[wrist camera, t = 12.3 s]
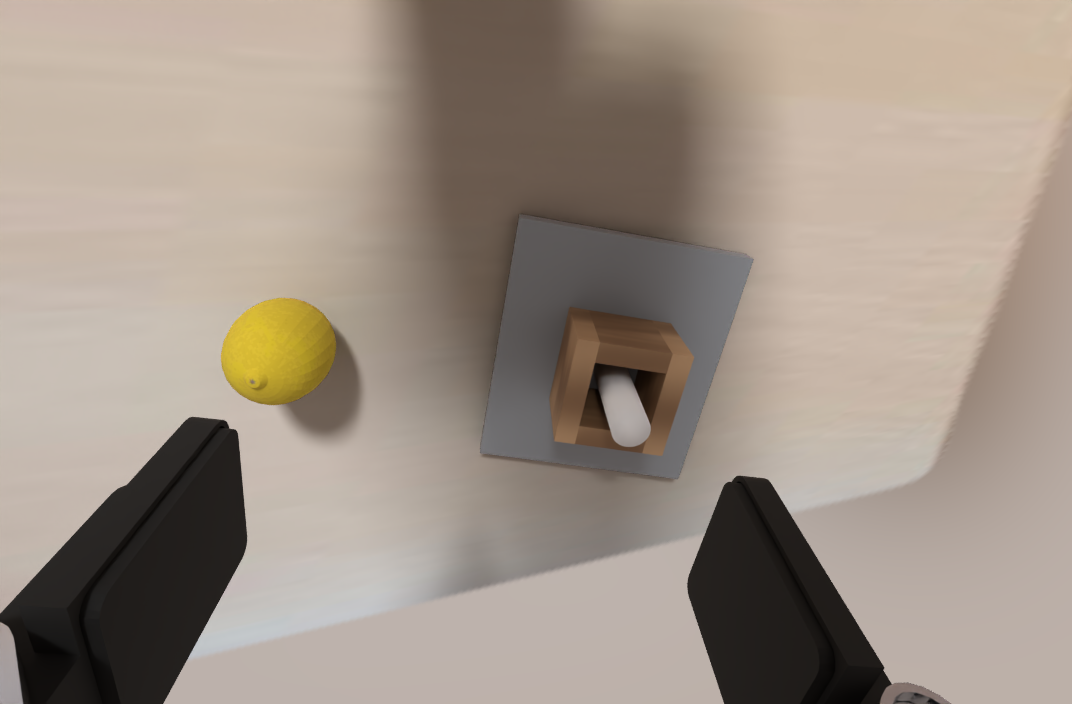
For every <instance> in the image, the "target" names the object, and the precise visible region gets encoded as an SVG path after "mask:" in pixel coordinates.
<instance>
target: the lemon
mask: <svg viewBox="0 0 1072 704" xmlns="http://www.w3.org/2000/svg"><path fill="white" fill-rule="evenodd" d="M335 351H336V340H335V334H334V331H333V329H332V326H331V324H330V322H329V321H328V319H327V318H326V317H325V316H324V314H323V313H322V312H320V311H319V310H318V309H317V308H316V307H314V306H312V305H310V304H308V303H306V302H304V301H300V300H297V299H292V298H277V299H272V300H267V301H264V302H262V303H260V304H257V305H255V306H253V307H252V308H250V309H248V310H247V311H246V312H245V313H243V314H242V315H241V316H240V317H239V318H238V319H237V320H236V321H235V322H234V324H233V325H232V327H231V328H230V330H229V332H228V334H227V336H226V338H225V340H224V343H223V347H222V353H221V362H222V369H223V372H224V374H225V377H226V379H227V381H228V382H229V383H230V385H231V386H232V388H234V389H235V390H236V391H237V392H238V393H239V394H240V395H242V396H243V397H245V398H247V399H249V400H251V401H254V402H257V403H260V404H267V405H279V404H286V403H289V402H292V401H295V400H298V399H300V398H301V397H303V396H305V395H306V394H308V393H309V392H311V391H312V390H314V389H315V388H316V387H317V386H318V385H319V384H320V383H321V382H322V380H323V379H324V378H325V377H326V376H327V374H328V373H329V370H330V368H331V366H332V364H333V361H334V358H335Z"/></svg>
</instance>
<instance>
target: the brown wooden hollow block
mask: <svg viewBox="0 0 1072 704" xmlns="http://www.w3.org/2000/svg"><path fill="white" fill-rule="evenodd" d="M693 360H694V356H693V355H692V353H691V352H690V350H689V349H688V347H687V346H686V345H685V343H684V342H683V340H682V339H681V337H680V336H679V334H678V333H677V331H676V330H675V329H674V327H673V326H672V324H671V323H666V322H660V321H653V320H647V319H641V318H635V317H629V316H623V315H617V314H611V313H605V312H598V311H592V310H586V309H580V308H574V307H569V311H568V316H567V320H566V325H565V329H564V334H563V338H562V343H561V347H560V352H559V356H558V361H557V366H556V370H555V375H554V379H553V384H552V388H551V393H550V397H549V401H550V410H551V418H552V427H553V436H554V441H556V442H564V443H571V444H578V445H586V446H593V447H600V448H607V449H615V450H622V451H629V452H636V453H644V454H651V455H658V456H662V455H663V452H664V449H665V446H666V443H667V439H668V436H669V433H670V430H671V427H672V424H673V421H674V418H675V415H676V412H677V409H678V406H679V403H680V400H681V396H682V393H683V390H684V387H685V384H686V381H687V378H688V375H689V372H690V369H691V366H692V363H693ZM595 363H600V364H606V365H613V366H619V367H626V368H632V369H638V372H637V375H636V379H635V382H634V386H635V389H636V391H637V394H638V396H639V398H640V401H641V403H642V406H643V408H644V411H645V413H646V415H647V418H648V420H649V423H650V426H651V431H650V435H649V437H648V438H647V439H646V440H645V441H644V442H643V443H642V444H640V445H638V446H634V447H625V446H621V445H619V444H618V443H616V442H615V441H614V439H613V437H612V434H611V431H610V427H609V424H608V420H607V417H606V413H605V410H604V406H603V403H602V399H601V396H600V392H599V389H594V388H589V385H590V381H591V377H592V373H593V369H594V365H595Z"/></svg>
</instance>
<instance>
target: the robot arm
mask: <svg viewBox="0 0 1072 704" xmlns="http://www.w3.org/2000/svg"><path fill="white" fill-rule="evenodd" d="M246 545H247V530H246V519H245V507H244V496H243V485H242V473H241V462H240V451H239V439H238V433H237V431H236V430H234V429H229V426H228V424H227V422H226V421H224V420H218V419H208V418H199V417H190V418H188V419H187V420H186V421H185V422H184V423H183V424H182V425H181V426H180V427H179V428H178V429H177V431H176V432H175V433H174V434H173V435H172V436H171V437H170V438H169V439H168V440H167V442H166V443H165V444H164V445H163V446H162V447H161V448H160V449H159V450H158V451H157V453H156V454H155V455H154V456H153V457H152V458H151V459H150V460H149V461H148V462H147V463H146V465H145V466H144V467H143V468H142V469H141V470H140V471H139V472H138V473H137V474H136V476H135V477H134V478H133V479H132V480H131V481H130V482H129V483H128V484H127V485H126V486H123V487H120V488H118V489H117V490H116V491H115V492H113V493H112V494H111V495H110V496H109V497H108V498H107V499H106V500H105V502H104V503H103V504H102V505H101V506H100V507H99V508H98V509H97V510H96V511H95V512H94V513H93V514H92V516H91V517H90V518H89V519H88V520H87V521H86V522H85V523H84V524H83V525H82V526H81V527H80V528H79V530H78V531H77V532H76V533H75V534H74V535H73V536H72V537H71V538H70V539H69V540H68V541H67V542H66V544H65V545H64V546H63V547H62V548H61V549H60V550H59V551H58V552H57V553H56V554H55V555H54V556H53V558H52V559H51V560H50V561H49V562H48V563H47V564H46V565H45V566H44V567H43V568H42V569H41V570H40V572H39V573H38V574H37V575H36V576H35V577H34V578H33V579H32V580H31V581H30V582H29V583H28V584H27V586H26V587H25V588H24V589H23V590H22V591H21V592H20V593H19V594H18V595H17V596H16V597H15V598H14V600H13V601H12V602H11V603H10V604H9V605H8V606H7V607H6V608H5V609H4V610H3V611H2V612H1V614H0V704H163V703H164V701H165V699H166V698H167V696H168V694H169V692H170V690H171V688H172V686H173V685H174V683H175V681H176V679H177V677H178V675H179V674H180V672H181V670H182V668H183V666H184V664H185V663H186V661H187V659H188V657H189V655H190V653H191V652H192V650H193V648H194V646H195V644H196V642H197V641H198V639H199V637H200V635H201V633H202V631H203V630H204V628H205V626H206V624H207V622H208V620H209V619H210V617H211V615H212V613H213V611H214V609H215V607H216V606H217V604H218V602H219V600H220V598H221V596H222V595H223V593H224V591H225V589H226V587H227V585H228V584H229V582H230V580H231V578H232V576H233V574H234V573H235V571H236V569H237V567H238V565H239V563H240V562H241V560H242V558H243V555H244V553H245V549H246ZM687 584H688V586H687V587H688V594H689V598H690V601H691V604H692V607H693V610H694V613H695V616H696V619H697V622H698V626H699V629H700V631H701V635H702V638H703V641H704V644H705V647H706V650H707V653H708V656H709V659H710V662H711V665H712V668H713V671H714V674H715V677H716V680H717V683H718V686H719V689H720V692H721V695H722V698H723V701H724V704H951V703H949V702H948V701H947V700H945V699H944V698H943V697H941V696H940V695H938V694H936V693H934V692H932V691H930V690H928V689H926V688H924V687H922V686H918V685H915V684H911V683H894V684H891V682H890V681H889V679H888V677H887V676H886V674H885V672H884V671H883V669H884V666H883V665H882V663H881V661H880V660H879V658H878V657H877V655H876V653H875V652H874V650H873V649H872V647H871V645H870V644H869V642H868V641H867V639H866V637H865V635H864V634H863V632H862V631H861V629H860V627H859V626H858V624H857V622H856V621H855V619H854V617H853V616H852V614H851V613H850V611H849V609H848V608H847V606H846V605H845V603H844V601H843V600H842V598H841V596H840V595H839V593H838V591H837V590H836V588H835V587H834V585H833V583H832V582H831V580H830V578H829V577H828V575H827V574H826V572H825V570H824V569H823V567H822V566H821V564H820V562H819V561H818V559H817V557H816V556H815V554H814V552H813V551H812V549H811V547H810V546H809V544H808V543H807V541H806V539H805V538H804V536H803V535H802V533H801V531H800V530H799V528H798V526H797V525H796V523H795V522H794V520H793V518H792V517H791V515H790V513H789V512H788V510H787V508H786V507H785V505H784V504H783V502H782V500H781V499H780V497H779V495H778V494H777V492H776V491H775V489H774V487H773V486H772V484H771V483H770V482H769V480H767V479H765V478H756V477H747V476H736V477H735V478H734V479H733V481H732V482H727V483H726V484H725V485H724V487H723V489H722V492H721V495H720V497H719V500H718V502H717V505H716V507H715V510H714V512H713V515H712V518H711V520H710V523H709V525H708V528H707V530H706V533H705V536H704V538H703V541H702V543H701V546H700V549H699V551H698V553H697V556H696V559H695V561H694V564H693V566H692V569H691V571H690V574H689V577H688V583H687Z"/></svg>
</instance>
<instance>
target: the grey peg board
mask: <svg viewBox="0 0 1072 704" xmlns="http://www.w3.org/2000/svg"><path fill="white" fill-rule="evenodd" d="M753 260H754V259H753V258H751V257H750V256H748V255H747V254H743V253H737V252H732V251H726V250H721V249H715V248H709V247H704V246H698V245H692V244H687V243H681V242H676V241H670V240H664V239H659V238H653V237H647V236H642V235H636V234H631V233H625V232H619V231H614V230H608V229H603V228H597V227H591V226H586V225H580V224H574V223H569V222H563V221H558V220H552V219H546V218H541V217H535V216H529V215H524V214H519V220H518V225H517V231H516V237H515V243H514V249H513V255H512V261H511V267H510V273H509V279H508V285H507V291H506V297H505V302H504V308H503V314H502V320H501V326H500V332H499V338H498V344H497V350H496V356H495V362H494V368H493V373H492V379H491V385H490V391H489V397H488V403H487V409H486V415H485V421H484V427H483V433H482V439H481V446H480V453H483V454H491V455H498V456H506V457H514V458H521V459H529V460H536V461H544V462H551V463H559V464H566V465H574V466H582V467H589V468H597V469H604V470H612V471H619V472H627V473H634V474H642V475H650V476H657V477H665V478H672V479H678V478H679V475H680V472H681V469H682V467H683V464H684V461H685V458H686V455H687V452H688V449H689V446H690V443H691V440H692V437H693V435H694V432H695V429H696V426H697V423H698V420H699V417H700V414H701V411H702V408H703V405H704V403H705V400H706V397H707V394H708V391H709V388H710V385H711V382H712V379H713V376H714V373H715V371H716V368H717V365H718V362H719V359H720V356H721V353H722V350H723V347H724V344H725V341H726V339H727V336H728V333H729V330H730V327H731V324H732V321H733V318H734V315H735V312H736V309H737V307H738V304H739V301H740V298H741V295H742V292H743V289H744V286H745V283H746V280H747V277H748V275H749V272H750V269H751V266H752V263H753ZM569 307H574V308H580V309H586V310H592V311H598V312H605V313H611V314H617V315H623V316H629V317H635V318H641V319H647V320H653V321H660V322H666V323H671V324H672V326H673V327H674V329H675V330H676V331H677V333H678V334H679V336H680V337H681V339H682V340H683V342H684V343H685V345H686V346H687V347H688V349H689V350H690V352H691V353H692V355H693V356H694V360H693V363H692V366H691V369H690V372H689V375H688V378H687V381H686V384H685V387H684V390H683V393H682V396H681V400H680V403H679V406H678V409H677V412H676V415H675V418H674V421H673V424H672V427H671V430H670V433H669V436H668V439H667V443H666V446H665V449H664V452H663V455H662V456H658V455H651V454H644V453H636V452H629V451H622V450H615V449H607V448H600V447H593V446H586V445H578V444H571V443H564V442H556V441H554V436H553V427H552V418H551V410H550V401H549V397H550V393H551V388H552V384H553V379H554V375H555V370H556V366H557V361H558V356H559V352H560V347H561V343H562V338H563V334H564V329H565V325H566V320H567V316H568V311H569ZM637 372H638V369H632V368H626V367H619V366H613V365H606V364H600V363H595V365H594V369H593V373H592V377H591V381H590V385H589V388H594V389H599V392H600V396H601V399H602V403H603V406H604V410H605V413H606V417H607V420H608V424H609V427H610V431H611V434H612V437H613V439H614V441H615V442H616V443H618V444H619V445H621V446H625V447H634V446H638V445H640V444H642V443H643V442H644V441H645V440H646V439H647V438H648V437H649V435H650V431H651V426H650V423H649V420H648V418H647V415H646V413H645V411H644V408H643V406H642V403H641V401H640V398H639V396H638V394H637V391H636V389H635V386H634V382H635V379H636V375H637Z"/></svg>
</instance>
